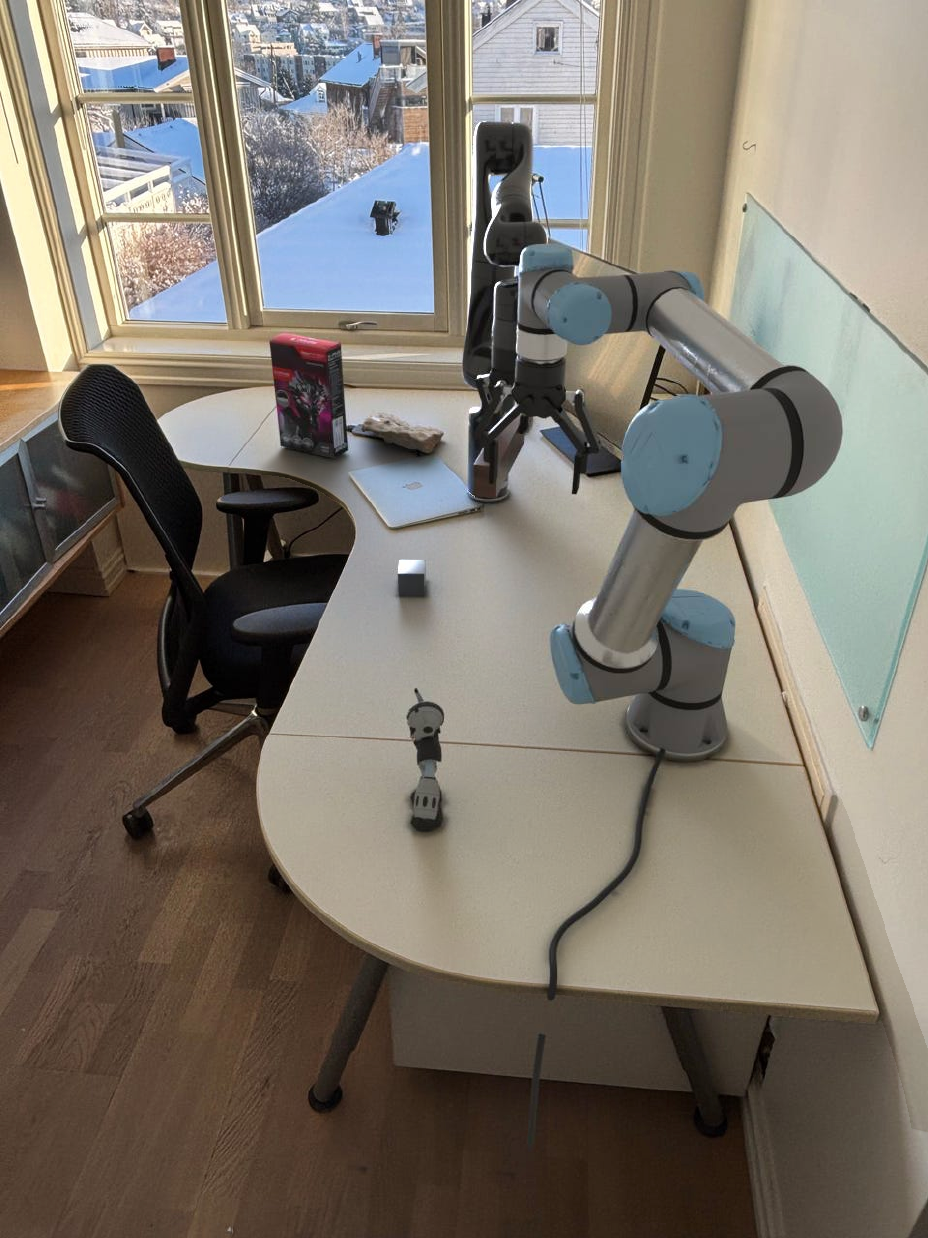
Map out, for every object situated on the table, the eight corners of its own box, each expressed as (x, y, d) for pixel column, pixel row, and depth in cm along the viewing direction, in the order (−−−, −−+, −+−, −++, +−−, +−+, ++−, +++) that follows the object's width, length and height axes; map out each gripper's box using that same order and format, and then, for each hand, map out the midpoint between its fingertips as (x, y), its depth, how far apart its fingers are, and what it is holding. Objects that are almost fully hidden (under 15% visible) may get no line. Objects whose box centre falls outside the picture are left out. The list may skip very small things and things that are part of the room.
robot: (446, 864, 120) (446, 749, 109) (409, 865, 120) (405, 750, 109) (442, 761, 137) (441, 652, 126) (409, 762, 136) (405, 652, 125)
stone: (345, 437, 230) (349, 413, 227) (367, 428, 243) (371, 405, 241) (423, 461, 226) (429, 437, 224) (441, 451, 239) (446, 428, 237)
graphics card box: (278, 447, 232) (266, 338, 217) (294, 437, 237) (284, 331, 222) (334, 460, 225) (326, 350, 210) (350, 450, 230) (343, 341, 215)
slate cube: (424, 596, 175) (424, 573, 172) (398, 595, 175) (397, 573, 172) (425, 582, 179) (425, 560, 176) (400, 582, 179) (399, 559, 176)
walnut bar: (495, 498, 159) (496, 466, 156) (473, 496, 160) (473, 464, 157) (524, 443, 179) (525, 414, 175) (504, 441, 179) (504, 412, 176)
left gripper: (556, 337, 166) (551, 427, 176) (479, 331, 169) (479, 420, 179) (548, 351, 160) (543, 443, 170) (469, 344, 163) (469, 435, 173)
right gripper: (627, 355, 138) (613, 485, 150) (467, 341, 143) (465, 467, 155) (621, 371, 132) (607, 505, 144) (453, 355, 137) (453, 485, 149)
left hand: (510, 431), depth 174 cm, fingers closed on walnut bar, 4 cm apart
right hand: (533, 485), depth 149 cm, fingers open, 13 cm apart
